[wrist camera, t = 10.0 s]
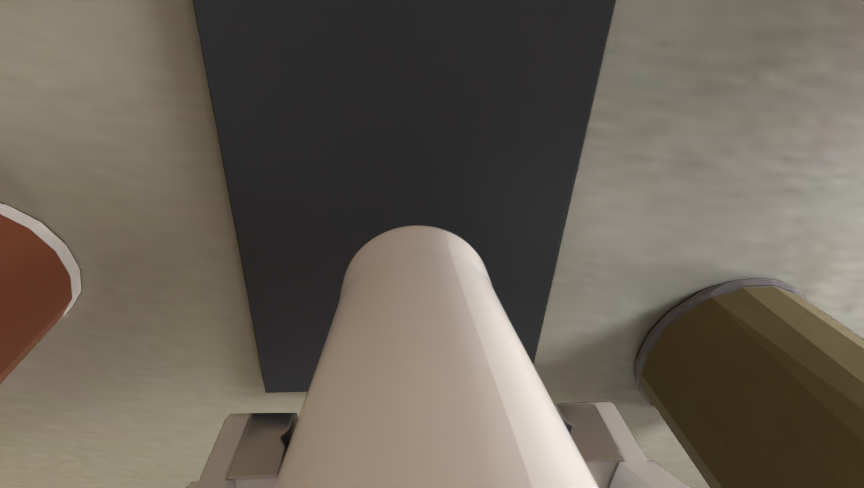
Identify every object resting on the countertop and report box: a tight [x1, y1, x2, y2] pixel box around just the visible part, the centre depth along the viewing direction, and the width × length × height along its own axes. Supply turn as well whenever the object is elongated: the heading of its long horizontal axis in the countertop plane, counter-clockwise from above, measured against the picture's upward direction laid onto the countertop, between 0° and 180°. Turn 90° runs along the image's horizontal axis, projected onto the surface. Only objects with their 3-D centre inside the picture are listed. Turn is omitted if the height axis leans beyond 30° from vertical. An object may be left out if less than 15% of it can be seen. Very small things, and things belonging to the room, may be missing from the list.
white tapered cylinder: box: [273, 225, 599, 488], centre depth 9 cm, size 7×7×15 cm
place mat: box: [193, 0, 616, 393], centre depth 19 cm, size 20×15×1 cm
